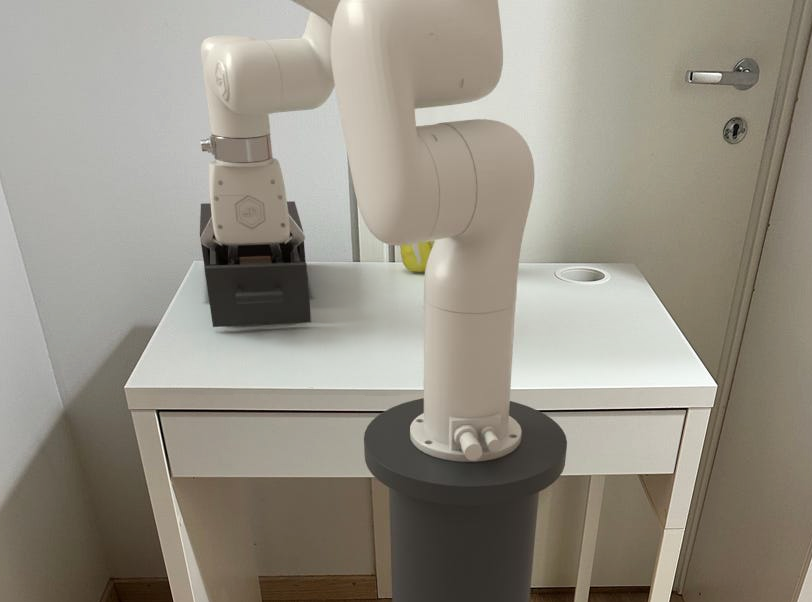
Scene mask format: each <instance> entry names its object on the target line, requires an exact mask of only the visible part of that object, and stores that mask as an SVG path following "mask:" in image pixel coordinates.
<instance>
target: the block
mask: <svg viewBox="0 0 812 602" xmlns="http://www.w3.org/2000/svg"><path fill="white" fill-rule="evenodd" d="M239 261H240V265H242V264H270V263H272V261H271V256H258V257H239Z"/></svg>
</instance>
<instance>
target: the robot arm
mask: <svg viewBox="0 0 812 602" xmlns="http://www.w3.org/2000/svg"><path fill="white" fill-rule="evenodd" d="M290 1H291V2H293V3H294V4H296V5H299V6H300V7H302V8H304V9H306V10H307V11H309V12H310V13H309V15H308V16H309V17H308V20H307V23H306V27H305V30H304V32H303V34H302V36H301V37H300V38H299V37H298V38H297V37H296V38H295V37H294V38H269V39H268V38H267V39H266V38H265V39H257V40H256V39H255V38H253V37H251V36H245V35H234V34H233V35H232V34H231V35H229V34H228V35H226V34H225V35H214V36H209V37H207V38H204V40H203V41H202V43H201V46H200V57H201V58H200V59H201V66H202V73H203V74H202V75H203V82H204V88H205V97H206V104H207V111H208V118H209V119H208V121H209V126H210V127H209V128H210V134H211V136H209V138H206V139H200V144H201V151H202V152H208V154H209V153H211V155H212V156H213V157H214V158H213V159H211V160H210V161H209V165H208V188H209V199H210V200H209V201H210V202H209V203H211V213H212V216H211V218H210V220H209V222H208V224H207V226H206V228H205V229H204V231H203V233H202V235H201V237H200V236H199V242H200V244H201V243H202V244H203V245H204V246H206V247H208V248H209V249H211V250H213V251H214V252H216V253H217V254H218V255H219V256H220V257H221V258H222V259H224V260H225V261H226V262H227V263H228V265H240V262H239V260H238V257H237V252H238V245H263V244H270V247H271V251H272V254H273V256H272V263H283V262H284V260H285V259H286V258H287V256H288V255H289V254H290V253H291V252H292V250H293V249H294V248H295V247H297V246H298V245H299V244H300V243H302V242H303V241H304V242H305V240H306V235H305V233H304V231H303V232H302V231H301V229H300V228H299V227H298V225H297V224H296V223H295V221H294V220H293V219H292V218H291V216H290V215H289V214H288V206H287V202H288V201H287V194H286V193H287V192H286V187H285V182H284V177H283V171H282V168H281V164H280V162H279V160H278V159H277V158H275V157H274V156H273V144H272V136H271V124H270V114H271V115H272V114H279V113H288V112H300V111H309V110H315V109H317V108H319V107H321V106H322V105H324V104H325V103H326V102H327V101H328V100H329V98H330V97H331V95H332V93H333V91H334V89H335V94H336V99H337V105H338V110H339V115H340V122H341V127H342V131H343V136H344V142H345V143H344V144H345V146H346V152H347V159H348V164H349V168H350V175H351V179H352V184H353V188H354V194H355V198H356V202H357V205H358V209H359V212H360V215H361V217H362V219H363V222H364V224H365V226H366V228H367V229H368V230H369V232H370V233H371V234H372V235H373V237H375V238H376V239H377V240H378V241H379V242H382V243H383V244H386V245H388V246H394V247H395V246H396V247H400V246H403V245H411V244H417V243H424V242H429V241H434V240H435V242H434V245H433V247H432V250H431V252H430V255H429V258H428V261H427V265H426V270H425V271H424V277H423V398H424V413H423V414H421V415H420V416H418V417H417V418H416V419H415V420H413V422H412V424H411V426H410V438H411V441H412V443H413V444H414V445H415V446H416V447H417V448H418V449H419V450H421V451H422V452H424V453H426V454H428V455H431V456H433V457H436V458H440V459H443V460H449V461H456V462H481V461H488V460H493V459H497V458H500V457H503V456H505V455H507V454H509V453H511V452H512V451H514V450H515V449H516V448H517V447H518V446H519V444H520V442H521V432H522V430H521V427H520V425H519V424H518V423H517V421H516V420H514V419H513V418H512V417H510V416H509V405H510V401H511V387H512V386H511V385H512V371H513V356H514V355H513V353H514V338H515V337H514V336H515V321H516V319H515V318H516V305H517V292H518V277H519V265H520V258H521V257H520V256H521V249H522V243H523V237H524V232H525V228H526V224H527V221H528V217H529V212H530V208H531V204H532V199H533V194H534V186H535V164H534V159H533V155H532V152H531V149H530V147H529V145H528V142H527V141H526V139H525V138H524V137H523V135H521V133H520V132H519V131H518V130H517V129H515V128H514V127H512V126H511V125H510V124H507V123H504V122H502V121H499V120H494V119H487V118H477V119H474V118H473V119H465V120H455V121H454V120H453V121H446V122H445V121H444V122H438V123H434V124H424V125H417V123H416V122H417V121H416V109H427V108H437V107H446V106H455V105H462V104H468V103H473V102H476V101H479V100H481V99H483V98H486V97H487V96H489V95H490V94H491V93H492V92H493V91H494V90H495V89H496V87H497V85H498V84H499V82H500V80H501V77H502V71H503V65H504V49H503V36H502V35H503V34H502V25H501V17H500V7H499V0H290ZM290 232H291V233H292V236H291V237H290V238H289V236H290ZM214 234H215V237H216V240H217V241H216V240H215V239H214V238H213V235H214ZM283 242H284V243H283ZM279 243H283V244H282V245H281V247H280V245H279ZM223 244H224V245H228V248H226V247H225V246H224V245H223Z"/></svg>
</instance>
